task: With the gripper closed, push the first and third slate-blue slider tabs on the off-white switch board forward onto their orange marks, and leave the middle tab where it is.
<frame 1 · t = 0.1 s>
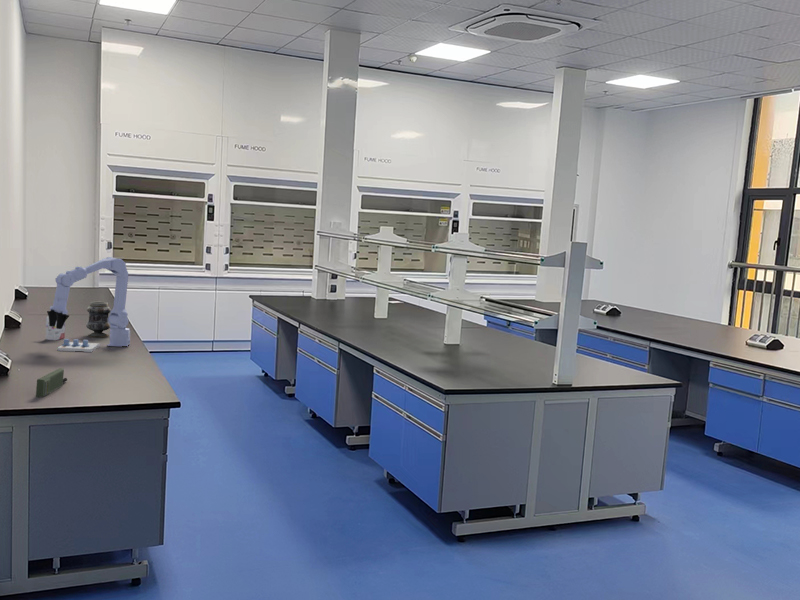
hand: (55, 327, 339), 10 cm above the table, tool pointing down, fingers open, 7 cm apart
ink cartridge box: (55, 339, 368), on the table
switch tab 2: (76, 342, 346), point 3 cm above the table, slide at 0.0 cm
dark grey stone urn: (97, 336, 386), on the table
switch tab 1: (85, 343, 346), point 3 cm above the table, slide at 0.0 cm
handheld radio: (52, 390, 267), on the table
switch tab 3: (66, 342, 345), point 3 cm above the table, slide at 0.0 cm
switch board: (79, 348, 347), on the table
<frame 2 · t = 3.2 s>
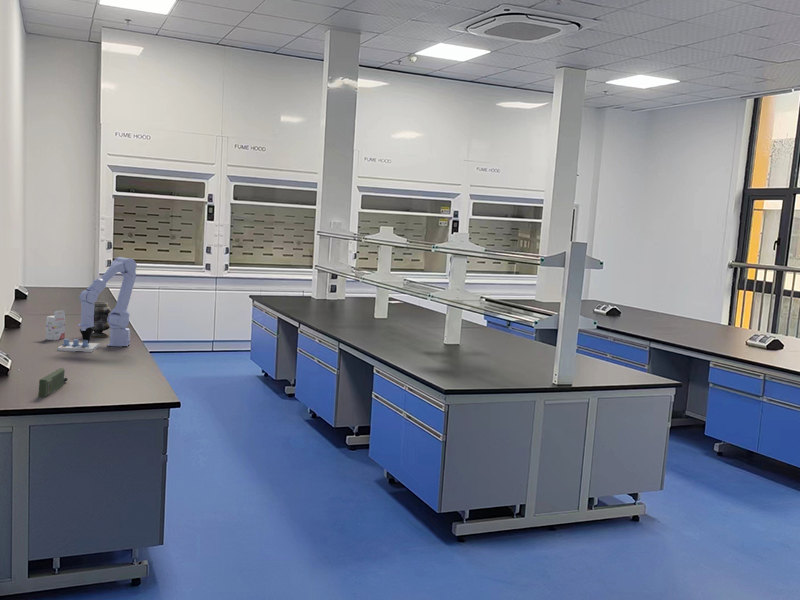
hand: (86, 343, 348), 2 cm above the table, tool pointing down, fingers closed
switch tab 1: (85, 343, 346), point 3 cm above the table, slide at 0.3 cm, touching gripper
everything else where it was.
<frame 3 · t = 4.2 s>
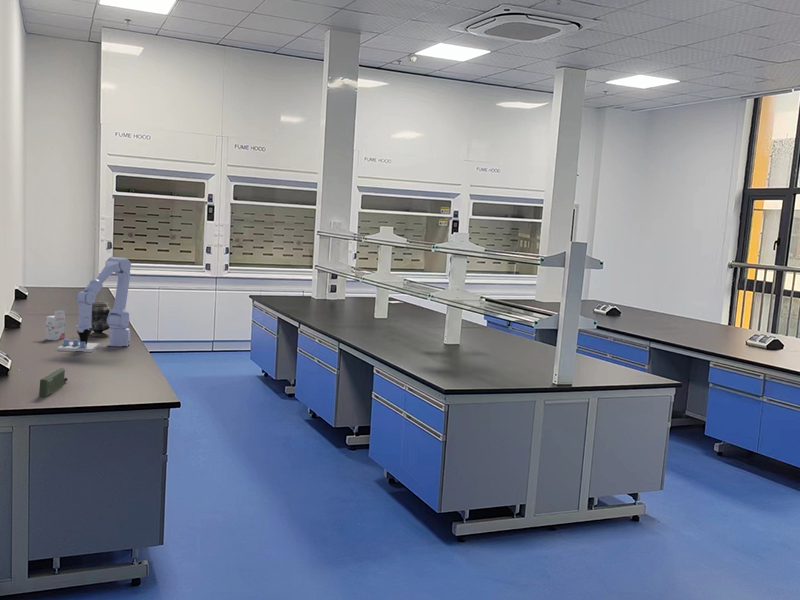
hand: (83, 345, 344), 2 cm above the table, tool pointing down, fingers closed
switch tab 1: (82, 344, 342), point 3 cm above the table, slide at 4.9 cm, touching gripper
everything else where it was.
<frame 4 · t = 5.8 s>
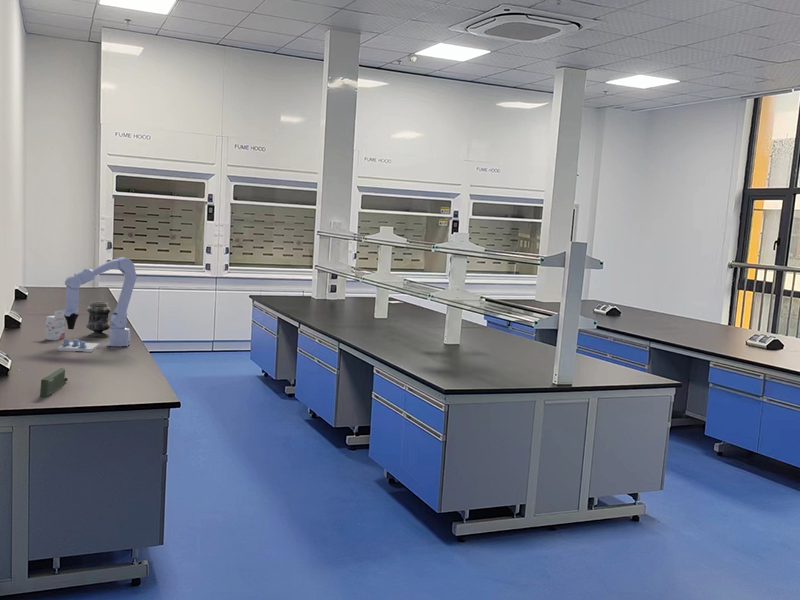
hand: (71, 329, 350), 8 cm above the table, tool pointing down, fingers closed
switch tab 1: (82, 344, 342), point 3 cm above the table, slide at 5.0 cm
everything else where it was.
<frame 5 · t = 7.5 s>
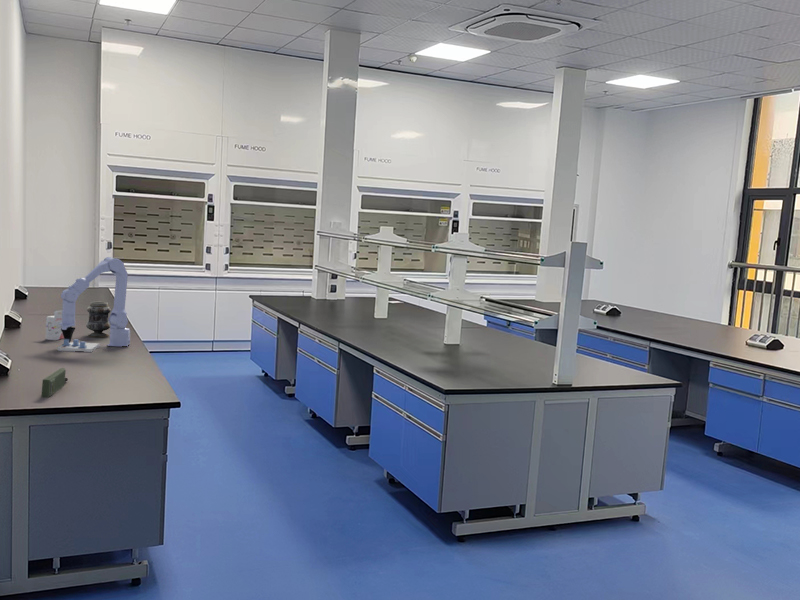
hand: (67, 342, 347), 2 cm above the table, tool pointing down, fingers closed
switch tab 3: (66, 342, 345), point 3 cm above the table, slide at 0.1 cm, touching gripper
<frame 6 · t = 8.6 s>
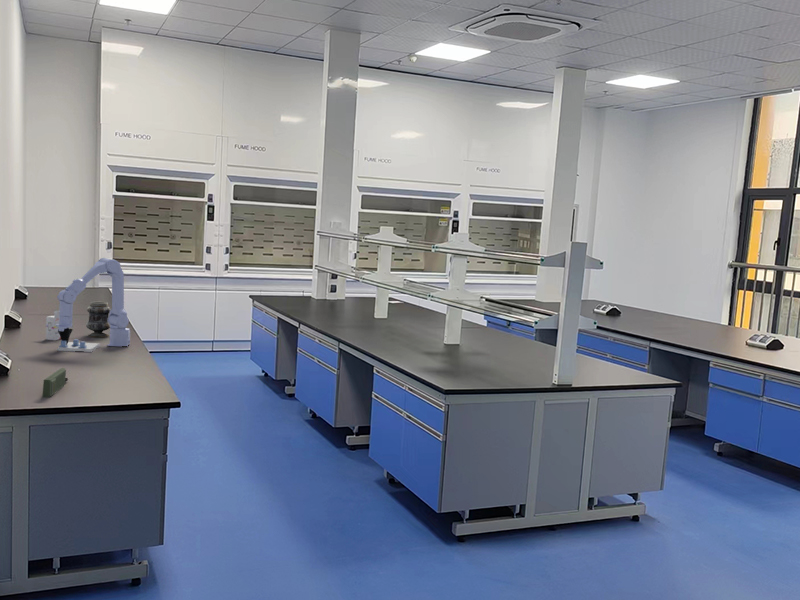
hand: (64, 344, 342), 2 cm above the table, tool pointing down, fingers closed
switch tab 3: (63, 343, 340), point 3 cm above the table, slide at 5.0 cm, touching gripper
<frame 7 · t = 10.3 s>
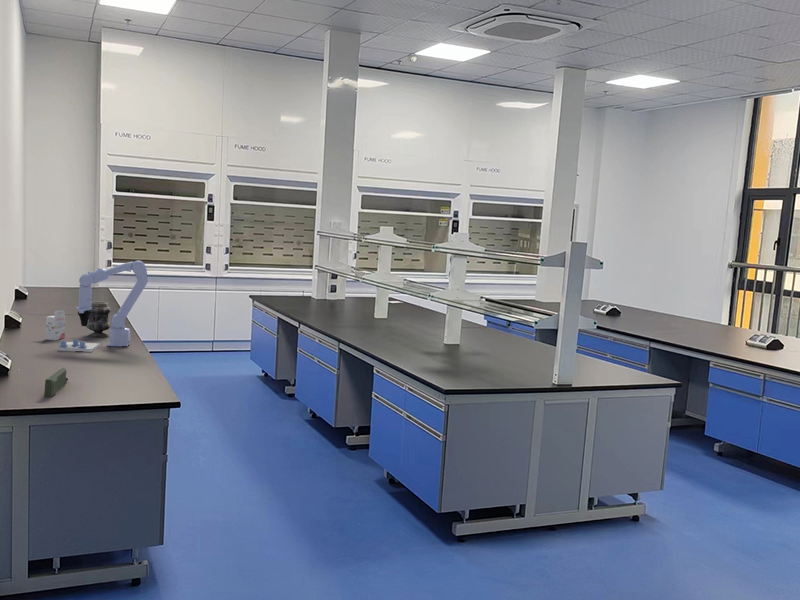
hand: (84, 326, 357), 9 cm above the table, tool pointing down, fingers closed
switch tab 3: (63, 343, 340), point 3 cm above the table, slide at 5.0 cm
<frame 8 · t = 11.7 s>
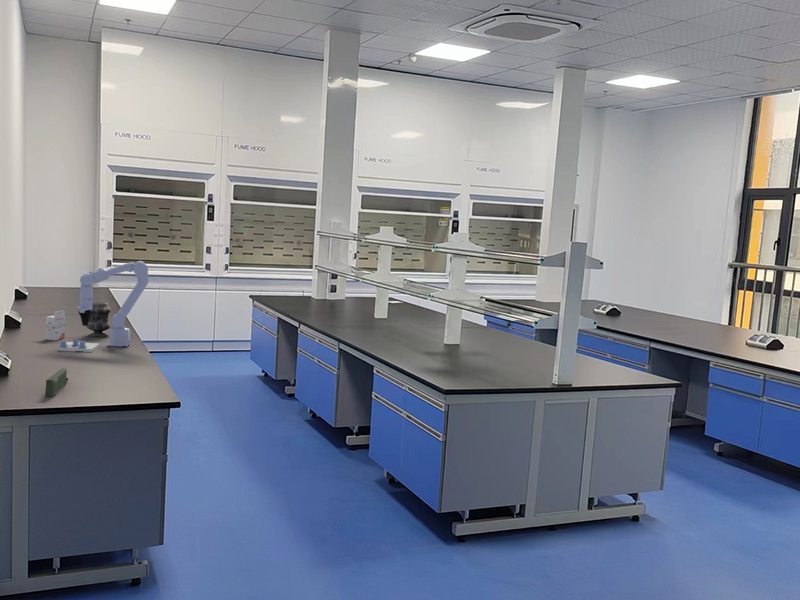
hand: (85, 325, 358), 9 cm above the table, tool pointing down, fingers closed
at the end: switch tab 1 slide at 5.0 cm; switch tab 3 slide at 5.0 cm; switch tab 2 slide at 0.0 cm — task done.
